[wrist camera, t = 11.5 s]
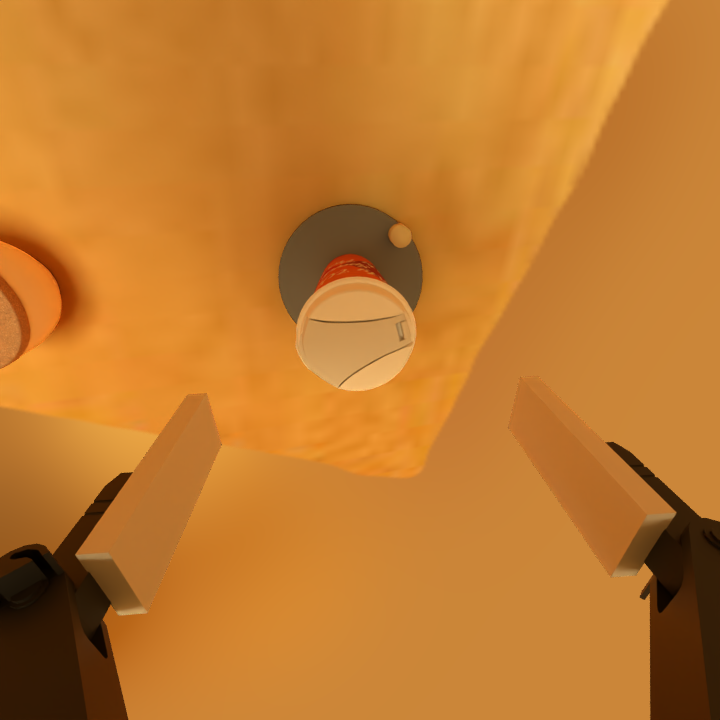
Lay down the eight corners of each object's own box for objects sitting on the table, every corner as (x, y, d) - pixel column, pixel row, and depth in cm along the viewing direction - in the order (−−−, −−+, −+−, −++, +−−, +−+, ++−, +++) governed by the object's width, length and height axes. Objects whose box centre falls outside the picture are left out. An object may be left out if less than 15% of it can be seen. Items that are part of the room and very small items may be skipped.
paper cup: (377, 230, 30) (404, 264, 18) (397, 306, 34) (431, 378, 22) (297, 257, 31) (269, 307, 19) (325, 329, 35) (318, 411, 22)
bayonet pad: (269, 206, 30) (263, 208, 27) (425, 201, 30) (432, 203, 28) (289, 347, 36) (285, 359, 34) (416, 341, 37) (422, 353, 34)
